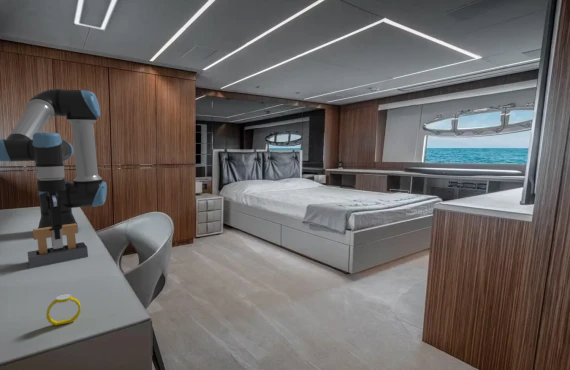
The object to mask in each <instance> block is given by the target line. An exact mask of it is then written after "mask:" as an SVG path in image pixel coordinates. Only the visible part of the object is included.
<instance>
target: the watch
mask: <svg viewBox="0 0 570 370" xmlns="http://www.w3.org/2000/svg"><path fill="white" fill-rule="evenodd" d="M68 301H71V302H74V303H75V305H77V308H78V309H77V312H76V314H75V315H74V316H72V317H71V318H68V319H62V320H58V321H57V320H56V319H53V318H52V317H51V315H50V310H51V309H52V307H53V306H55V305H56V304H57V303H59V304H63V303H66V302H68ZM81 307H82V306H81V302H80V301H79V299H78V298H76V297H74V296H72V294H70V293H65V294H61V295H58V296H56V297H55V299H54V300H53V301H52V302H51V303H50V304H49V306H48V307H47V310H46V317H45V318H46V320H47V321H48V322H49V324H51V325H53V326H59V325H64V324H71V323H73V322H74V321H75V320H77V319H78V318H79V316H80V314H81V310H82V308H81Z"/></svg>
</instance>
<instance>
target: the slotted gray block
mask: <svg viewBox="0 0 570 370" xmlns="http://www.w3.org/2000/svg"><path fill="white" fill-rule="evenodd" d="M47 251H48V253H45V254H40V255H39V250H38V249H36V250H31V251H27V259H28V260H27V261H28V267H29V269H34V268H40V267H44V266H49V265H54V264H58V263H59V264H60V263H64V262H67V261H74V260H77V259H83V258H88V257H89V252H88V246H87V244H85V242H82V241H81V242H76V248H72V249H68V247H67V244H65V245H64V244H63V248H57V249H53V247H47Z"/></svg>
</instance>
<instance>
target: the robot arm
mask: <svg viewBox="0 0 570 370" xmlns="http://www.w3.org/2000/svg"><path fill="white" fill-rule="evenodd" d="M25 109H26V110H25V112H24V113H23V115H22V116H21V117H20V119H19V120H18V121H17V123H16V124H15V126H14V128H13V129H12V130H11V132H10V133H9V135H8V136H7V137H6V139H4V138H1V139H0V162H10V163H11V162H34V164H35V169H34V170H33V173H35V174H36V179H38V180H37V182H36V185H37V191H38V198H39V199H38V200H39V209H40V219H39V223H38V226H37V229H38V228H45V227H52V229H49V231H52V237H50V238H51V246H52V247H51V248H53V249H57V248H63V246H64V241H63V240H64V239H63V235H62V229H61V228H62V225H67V224H74V223H76V224H77V227H78V225H79V224H78V222H77V221H76V218H75V216H74V214H73V210H72V209H74V208H90V207H92V208H94V207H101V206H103V205H104V204H105V203H106V199H107V193H108V192H107V191H108V185H107V184H108V183H107V182H106V181H103V178H102V176H100V175H99V170H98V160H97V151H96V150H97V149H96V138H95V129H94V127H95V124H96V122H98V119H97V118H99V117H101V108H100V104H99V100H98V97H97V95H96V94H95V93H94V92H93V91H90V90H85V89H83V90H82V89H64V88H63V89H61V88H60V89H59V88H51V89H47V90H44V91H41V92H39V93H36V95H34V96H33V97H31V98H30V99H29V100H28V102H27V103H26V107H25ZM54 117H66V121H67V122H68V123H69V124H70V126H71V135H72V142H73V143H72V144H73V145H72V144H71V143H70V142H68V141H66V140H64V139H62V137H61V134H60V133H59V132H58V133H57V132H43V130H44V128H45V127H46V125H47V123H48V121H49V120H51V119H53V118H54ZM73 155H74V165H75V173H76V177H74V178H73V179H72V181H73V182H70V180H66V179H65V176H66V175H65V166H64V162H65V161H67V160H68V159H69V160H70V159H71V158H72V157H73ZM78 228H79V227H78Z"/></svg>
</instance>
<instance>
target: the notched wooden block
mask: <svg viewBox="0 0 570 370" xmlns="http://www.w3.org/2000/svg"><path fill="white" fill-rule="evenodd" d="M77 225H78V223H77V224H76V223H74V224H67V225H62V228H61V229H62V236H66V245H67V247H68V249H72V248H76V243H77V241H76V234H78V233H79V230H78V228H79V227H77ZM49 229H52V227H45V228H38V227H37V228H33V229H32V235H33V240H34V241H37V248H38V249H37V250H39V255H40V254H45V253H48V251H47V248H48V243H47V239H48V238H51V237H52V231H49Z"/></svg>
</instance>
